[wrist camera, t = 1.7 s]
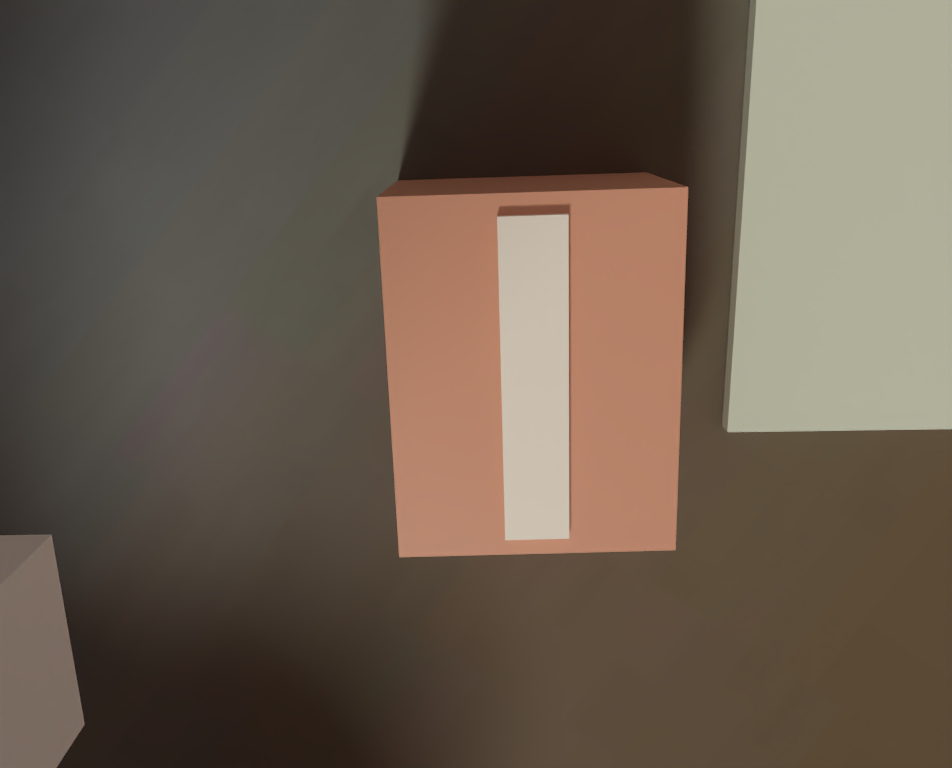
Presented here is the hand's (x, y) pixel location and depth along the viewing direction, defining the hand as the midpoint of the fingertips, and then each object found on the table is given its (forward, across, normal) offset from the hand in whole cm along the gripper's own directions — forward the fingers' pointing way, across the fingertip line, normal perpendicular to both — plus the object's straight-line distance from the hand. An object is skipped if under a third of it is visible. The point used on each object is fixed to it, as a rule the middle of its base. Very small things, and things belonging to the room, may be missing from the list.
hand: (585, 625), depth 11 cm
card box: (+16, 0, 0) cm, 16 cm away
